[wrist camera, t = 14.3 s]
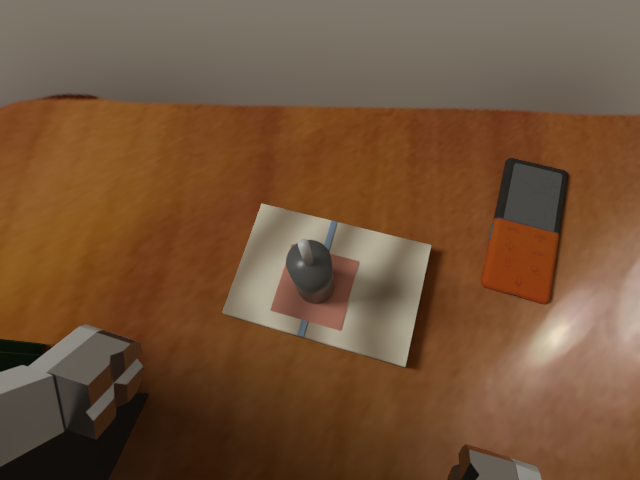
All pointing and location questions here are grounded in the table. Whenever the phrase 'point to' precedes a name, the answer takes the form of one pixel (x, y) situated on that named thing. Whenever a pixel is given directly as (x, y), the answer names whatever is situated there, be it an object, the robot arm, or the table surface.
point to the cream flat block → (349, 285)
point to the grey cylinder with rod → (311, 270)
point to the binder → (68, 435)
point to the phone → (525, 231)
